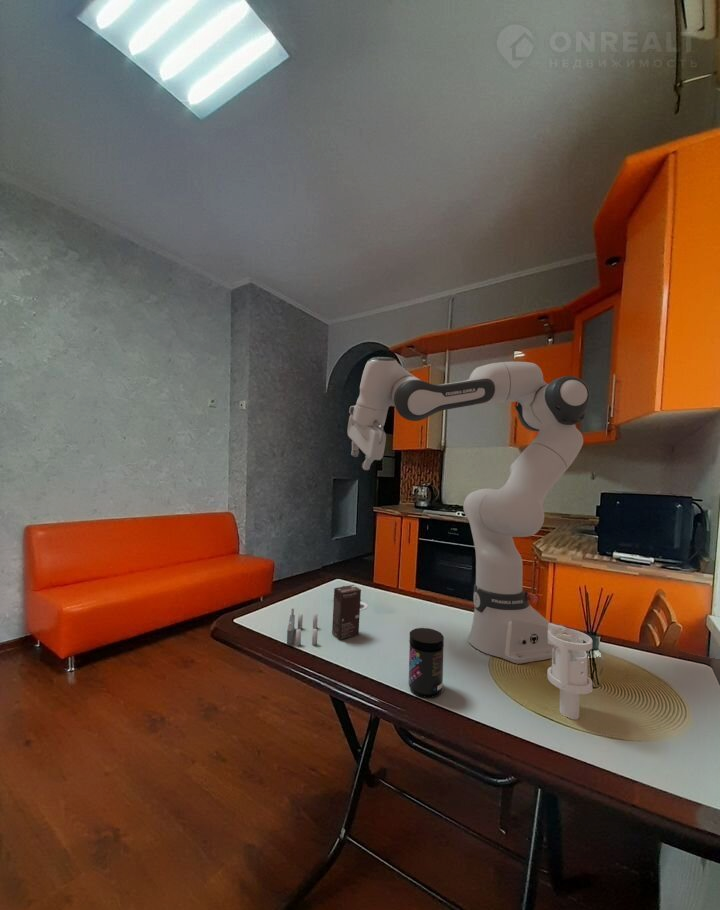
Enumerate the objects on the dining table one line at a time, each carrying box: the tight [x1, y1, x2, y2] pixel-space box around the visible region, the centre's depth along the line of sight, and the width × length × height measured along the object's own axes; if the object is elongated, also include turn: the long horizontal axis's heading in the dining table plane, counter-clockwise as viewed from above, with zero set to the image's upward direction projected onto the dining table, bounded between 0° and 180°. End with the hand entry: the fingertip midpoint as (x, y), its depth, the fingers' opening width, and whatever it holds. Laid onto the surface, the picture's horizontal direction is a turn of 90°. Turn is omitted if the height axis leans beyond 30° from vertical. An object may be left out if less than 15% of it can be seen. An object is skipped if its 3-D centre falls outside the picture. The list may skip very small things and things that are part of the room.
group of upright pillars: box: [286, 607, 319, 647], centre depth 92 cm, size 7×10×5 cm
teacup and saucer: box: [360, 598, 369, 611], centre depth 115 cm, size 9×8×4 cm
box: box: [331, 584, 362, 641], centre depth 94 cm, size 6×4×12 cm
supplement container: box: [408, 627, 445, 699], centre depth 71 cm, size 7×7×10 cm
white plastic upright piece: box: [546, 622, 593, 720], centre depth 65 cm, size 7×7×15 cm
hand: (359, 462), depth 103 cm, fingers open, 8 cm apart
